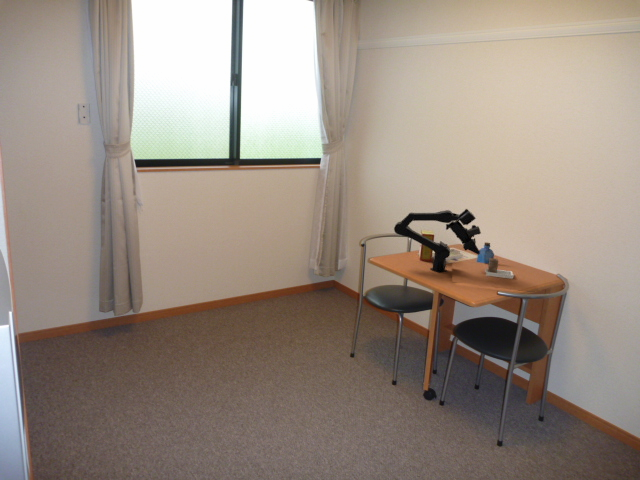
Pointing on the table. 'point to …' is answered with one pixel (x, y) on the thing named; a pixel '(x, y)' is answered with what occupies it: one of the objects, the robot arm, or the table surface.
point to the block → (493, 265)
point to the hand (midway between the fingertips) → (479, 253)
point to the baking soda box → (424, 251)
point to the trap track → (500, 274)
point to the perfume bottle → (485, 254)
